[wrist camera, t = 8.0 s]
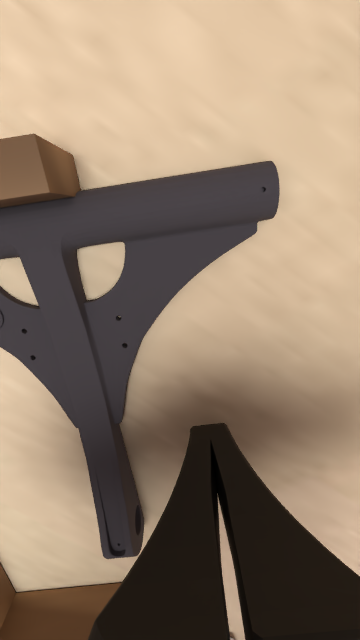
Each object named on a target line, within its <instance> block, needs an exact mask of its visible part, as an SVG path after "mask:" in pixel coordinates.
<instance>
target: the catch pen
mask: <svg viewBox="0 0 360 640" xmlns="http://www.w3.org/2000/svg"><path fill="white" fill-rule="evenodd" d="M78 191H81V189H80V185H79V181H78V176H77V172H76V168H75V163H74V159H73V155H72V154H70V153H68V152H66V151H64V150H63V149H61V148H59V147H57V146H55V145H54V144H52V143H50V142H48V141H46V140H45V139H43V138H41V137H39V136H37V135H36V134H29V135H23V136H17V137H11V138H4V139H0V208H4V207H10V206H17V205H23V204H30V203H36V202H43V201H49V200H56V199H62V198H69V197H75V196H76V193H77V192H78ZM120 585H121V583H115V584H104V585H94V586H84V587H73V588H63V589H52V590H42V591H31V592H21V593H16V592H15V590H14V588H13V587H12V585H11V583H10V581H9V579H8V577H7V575H6V573H5V572H4V570H3V568H2V566H1V564H0V640H88V638H89V635H90V632H91V629H92V627H93V624H94V621H95V619H96V618H97V616H98V615H99V614H100V612H101V611H102V609H103V608H104V607H105V605H106V604H107V603H108V601H109V600H110V598H111V597H112V596H113V594H114V593H115V592H116V590H117V589H118V588H119V586H120Z"/></svg>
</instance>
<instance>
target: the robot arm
mask: <svg viewBox="0 0 360 640" xmlns="http://www.w3.org/2000/svg"><path fill="white" fill-rule="evenodd" d="M217 493H218V495H217ZM218 498H219V502H220V506H221V511H222V515H223V519H224V524H225V528H226V533H227V537H228V541H229V546H230V550H231V554H232V559H233V564H234V569H235V575H236V581H237V588H238V594H239V601H240V607H241V614H242V620H243V627H244V633H245V640H360V576H359V575H357V574H356V573H355V572H354V571H352V570H351V569H350V568H349V567H348V566H346V565H345V564H344V563H343V562H342V561H340V560H339V559H338V558H337V557H336V556H335V555H334V554H332V553H331V552H330V551H329V550H328V549H327V548H326V547H324V546H323V545H322V544H321V543H320V542H319V541H318V540H317V539H316V538H315V537H314V536H313V535H312V534H311V533H310V532H309V531H308V530H306V529H305V528H304V527H303V526H302V525H301V524H300V523H299V522H298V521H297V520H296V519H295V518H294V517H293V516H292V515H291V514H290V513H289V512H288V510H287V509H286V508H285V507H284V506H283V505H282V504H281V503H280V502H279V501H278V499H277V498H276V497H275V496H274V495H273V494H272V493H271V491H270V490H269V489H268V488H267V487H266V485H265V484H264V483H263V482H262V480H261V479H260V478H259V476H258V475H257V474H256V472H255V471H254V470H253V468H252V467H251V466H250V464H249V463H248V461H247V460H246V458H245V457H244V455H243V454H242V452H241V451H240V449H239V448H238V446H237V444H236V443H235V441H234V439H233V437H232V435H231V433H230V431H229V429H228V427H227V425H226V424H225V423H218V424H210V425H201V426H193V427H192V428H191V429H190V438H189V443H188V447H187V451H186V455H185V458H184V461H183V465H182V468H181V471H180V474H179V477H178V479H177V482H176V484H175V487H174V489H173V492H172V494H171V497H170V499H169V501H168V504H167V506H166V508H165V510H164V512H163V514H162V516H161V518H160V520H159V522H158V524H157V526H156V528H155V530H154V531H153V533H152V535H151V537H150V539H149V541H148V542H147V544H146V546H145V547H144V549H143V551H142V552H141V554H140V555H139V557H138V559H137V560H136V562H135V563H134V565H133V567H132V568H131V570H130V571H129V573H128V574H127V576H126V577H125V579H124V580H123V582H122V583H121V585H120V586H119V588H118V589H117V590H116V592H115V593H114V594H113V596H112V597H111V598H110V600H109V601H108V603H107V604H106V605H105V607H104V608H103V609H102V611H101V612H100V614H99V615H98V616H97V618H96V619H95V621H94V624H93V627H92V629H91V632H90V635H89V638H88V640H234V639H233V638H230V634H229V626H228V618H227V610H226V601H225V593H224V585H223V577H222V567H221V553H220V534H219V514H218Z"/></svg>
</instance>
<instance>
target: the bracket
mask: <svg viewBox="0 0 360 640" xmlns="http://www.w3.org/2000/svg"><path fill="white" fill-rule="evenodd" d="M278 203H279V178H278V173H277V169H276V166H275V164H274V163H273V162H272V161H266V162H259V163H253V164H247V165H240V166H234V167H228V168H222V169H215V170H209V171H203V172H196V173H190V174H184V175H178V176H171V177H165V178H159V179H152V180H146V181H140V182H134V183H127V184H121V185H115V186H108V187H102V188H96V189H90V190H83V191H78V192H77V193H76V196H75V197H69V198H62V199H56V200H49V201H43V202H36V203H30V204H23V205H17V206H10V207H4V208H0V259H5V258H14V257H20V259H21V262H22V264H23V267H24V269H25V272H26V274H27V277H28V279H29V282H30V284H31V287H32V289H33V292H34V294H35V297H36V299H37V302H38V304H39V306H34V305H30V304H27V303H24V302H22V301H20V300H18V299H16V298H14V297H13V296H11V295H10V294H8V293H7V292H6V291H5V290H4V289H3V288H2V287H1V286H0V347H1V348H3V349H4V350H6V351H7V352H9V353H11V354H12V355H13V356H15V357H16V358H17V359H19V360H20V361H21V362H22V363H23V364H24V365H25V366H26V367H27V368H28V369H29V370H30V371H31V372H32V373H33V374H34V375H35V376H36V377H37V378H38V379H39V380H40V381H41V382H42V383H43V384H44V386H45V387H46V388H47V389H48V390H49V391H50V392H51V394H52V395H53V396H54V397H55V399H56V400H57V401H58V403H59V404H60V405H61V407H62V408H63V410H64V411H65V413H66V414H67V416H68V417H69V419H70V420H71V421H72V423H73V424H74V426H75V427H76V428H79V432H80V436H81V440H82V444H83V448H84V452H85V456H86V460H87V465H88V470H89V476H90V481H91V487H92V492H93V497H94V503H95V508H96V514H97V519H98V525H99V532H100V540H101V548H102V552H103V556H104V558H106V559H112V558H123V557H133V556H137V555H138V554H139V552H140V550H141V547H142V542H143V533H144V518H143V514H142V510H141V506H140V502H139V498H138V495H137V491H136V487H135V483H134V479H133V476H132V472H131V468H130V464H129V460H128V457H127V453H126V449H125V445H124V441H123V438H122V434H121V430H120V426H119V423H121V422H122V419H123V413H124V404H125V396H126V389H127V383H128V379H129V375H130V371H131V368H132V365H133V363H134V360H135V357H136V354H137V352H138V349H139V346H140V344H141V341H142V339H143V337H144V336H145V334H146V333H147V331H148V330H149V328H150V327H151V325H152V324H153V323H154V321H155V320H156V318H157V317H158V315H159V314H160V313H161V312H162V310H163V309H164V308H165V306H166V305H167V304H168V303H169V302H170V300H171V299H172V298H173V297H174V296H175V295H176V294H177V293H178V292H179V291H180V290H181V289H182V288H183V287H184V286H185V285H186V284H187V283H188V282H189V281H190V280H191V279H192V278H193V277H194V276H195V275H197V274H198V273H199V272H200V271H201V270H203V269H204V268H205V267H206V266H208V265H209V264H210V263H212V262H213V261H214V260H216V259H217V258H218V257H220V256H221V255H223V254H224V253H226V252H227V251H229V250H230V249H232V248H233V247H235V246H236V245H238V244H240V243H241V242H243V241H244V240H246V239H248V238H249V237H251V236H252V235H254V234H255V233H256V232H257V223H258V221H262V220H267V219H272V218H273V217H274V216H275V214H276V212H277V208H278ZM122 241H123V242H124V243H125V262H124V268H123V271H122V274H121V276H120V278H119V280H118V282H117V283H116V285H115V286H114V287H113V288H112V290H110V291H109V292H108V293H107V294H105V295H103V296H102V297H100V298H98V299H95V300H89V301H87V300H86V297H85V293H84V289H83V285H82V281H81V277H80V272H79V267H78V260H77V249H79V248H82V247H87V246H92V245H99V244H105V243H112V242H122ZM118 316H121V318H119V317H118ZM124 343H126V344H127V345H125V344H124Z"/></svg>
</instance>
